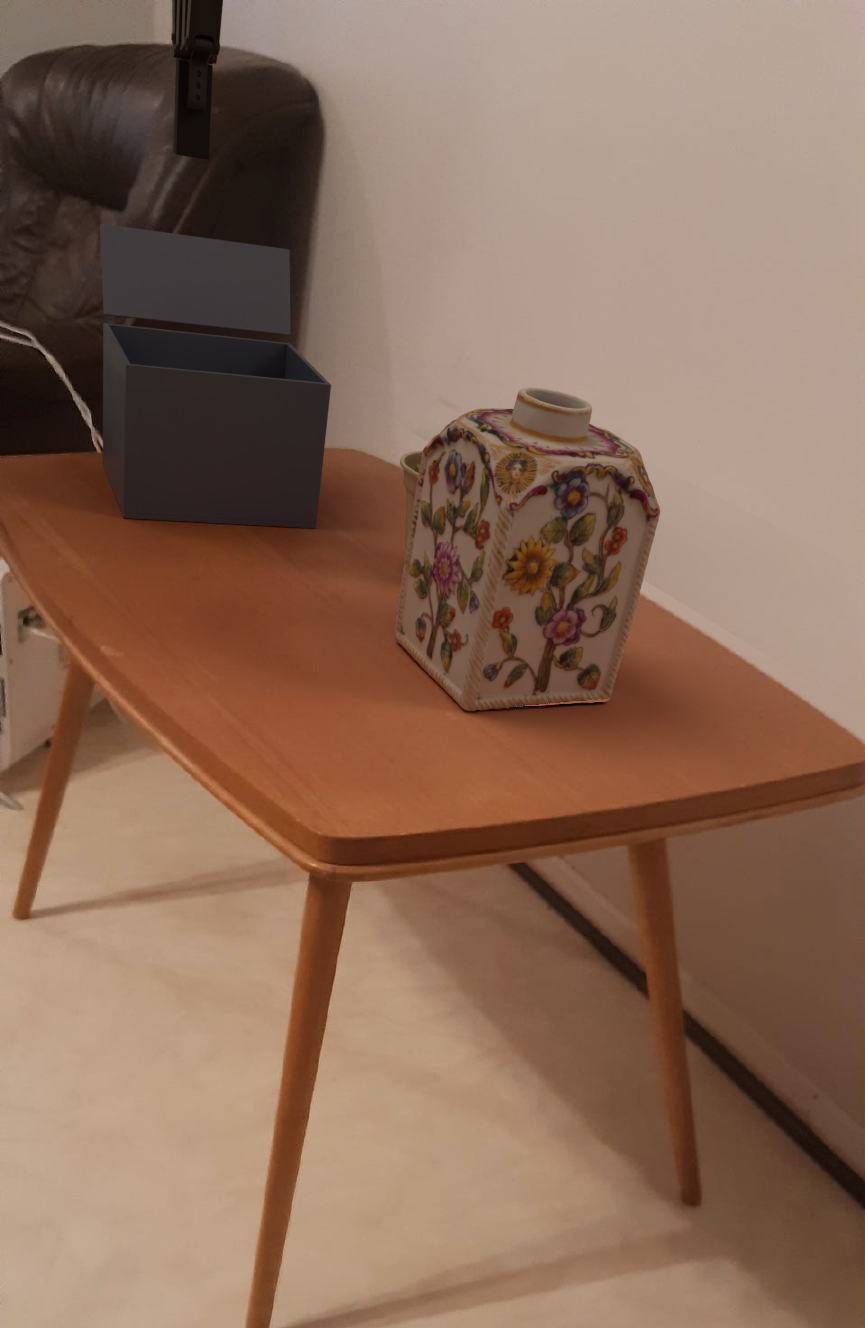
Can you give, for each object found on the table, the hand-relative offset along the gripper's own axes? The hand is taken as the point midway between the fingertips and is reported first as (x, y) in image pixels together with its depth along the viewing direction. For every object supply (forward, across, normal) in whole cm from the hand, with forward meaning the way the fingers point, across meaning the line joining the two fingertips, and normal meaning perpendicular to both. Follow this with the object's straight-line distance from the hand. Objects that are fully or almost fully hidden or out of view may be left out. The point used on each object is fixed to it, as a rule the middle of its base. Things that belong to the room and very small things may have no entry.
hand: (191, 155), depth 102 cm
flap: (+8, +7, 0) cm, 11 cm away
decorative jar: (+24, +50, +14) cm, 57 cm away
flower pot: (+24, +32, +15) cm, 43 cm away
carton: (+23, +15, 0) cm, 28 cm away
